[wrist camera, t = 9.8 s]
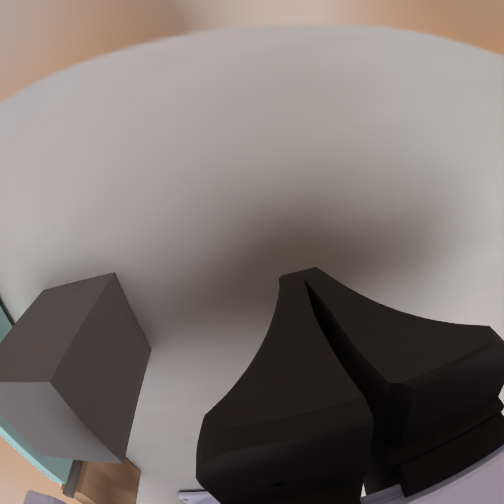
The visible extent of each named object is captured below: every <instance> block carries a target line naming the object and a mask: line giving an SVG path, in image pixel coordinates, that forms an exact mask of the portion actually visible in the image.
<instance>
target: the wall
mask: <svg viewBox="0 0 504 504" xmlns="http://www.w3.org/2000/svg"><path fill="white" fill-rule="evenodd" d="M140 473H141V471H140V470H139V469H138V468H137V467H135V466H134V465H133V464H132V463H131V462H130V461H129V460H128V459H127V458H126V457H125V459H124V464H119V463H103V462H92V461H82V460H74V459H73V462H72V465H71V469H70V472H69V476H68V479H67V483H66V484H62V487H61V489H62V490H63V494H64V495H66V496H68V497H70V498H75V499H76V500H78V501H79V502H81V503H82V504H136V500H137V493H138V486H139V479H140Z"/></svg>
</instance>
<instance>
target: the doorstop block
mask: <svg viewBox="0 0 504 504" xmlns="http://www.w3.org/2000/svg"><path fill="white" fill-rule="evenodd" d="M150 353H151V348H150V346H149V344H148V342H147V340H146V338H145V336H144V334H143V332H142V330H141V328H140V326H139V324H138V322H137V320H136V318H135V316H134V314H133V312H132V310H131V308H130V306H129V303H128V301H127V299H126V297H125V295H124V293H123V290H122V288H121V286H120V284H119V281H118V279H117V277H116V274H115V272H114V273H110V274H106V275H102V276H98V277H94V278H90V279H86V280H82V281H78V282H74V283H70V284H66V285H62V286H59V287H55V288H51V289H47V290H43V292H42V293H41V294H40V295H39V296H38V297H37V298H36V300H35V301H34V302H33V303H32V304H31V305H30V307H29V308H28V309H27V310H26V311H25V313H24V314H23V315H22V316H21V317H20V319H19V320H18V321H17V322H16V324H15V325H14V326H13V327H12V329H11V330H10V331H9V332H8V334H7V335H6V336H5V338H4V339H3V340H2V341H1V343H0V414H1V415H2V416H3V417H4V418H5V419H6V420H7V422H8V423H9V424H10V425H11V426H12V427H13V428H14V429H15V430H16V431H17V432H18V433H19V434H20V435H21V436H22V437H23V438H24V439H25V440H26V441H27V442H28V443H29V444H30V445H31V446H32V447H33V448H34V449H35V450H36V451H38V452H39V453H40V454H41V455H47V456H53V457H59V458H66V459H74V460H82V461H92V462H103V463H119V464H124V459H125V454H126V450H127V445H128V441H129V436H130V432H131V427H132V423H133V419H134V414H135V410H136V406H137V402H138V398H139V394H140V390H141V386H142V382H143V378H144V375H145V371H146V367H147V364H148V360H149V356H150Z"/></svg>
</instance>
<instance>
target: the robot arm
mask: <svg viewBox="0 0 504 504" xmlns="http://www.w3.org/2000/svg"><path fill="white" fill-rule="evenodd" d="M279 284H280V286H279V295H278V300H277V305H276V309H275V313H274V315H273V318H272V321H271V324H270V327H269V330H268V332H267V334H266V337H265V339H264V341H263V343H262V345H261V347H260V349H259V350H258V352H257V354H256V356H255V357H254V359H253V361H252V362H251V364H250V365H249V367H248V368H247V370H246V371H245V372H244V374H243V375H242V376H241V378H240V379H239V380H238V381H237V383H236V384H235V385H234V386H233V388H232V389H231V390H230V391H229V392H228V393H227V395H226V396H225V397H224V398H223V399H222V400H220V401H219V402H218V403H217V404H216V405H215V406H214V407H213V408H212V409H211V410H210V411H209V412H208V413H207V414H206V415H205V416H204V419H203V423H202V426H201V430H200V435H199V440H198V445H197V455H196V479H197V480H198V482H199V484H200V485H201V486H202V487H203V488H204V489H205V490H206V491H205V492H180V493H178V498H179V499H181V500H182V501H183V502H185V503H186V504H504V416H503V415H502V413H501V411H502V410H503V408H504V404H503V403H502V401H501V400H500V399H499V397H498V395H499V393H500V391H501V389H502V387H503V385H504V341H503V340H502V338H501V337H500V336H499V335H498V334H497V333H496V332H495V331H494V330H493V329H492V328H491V327H490V326H480V325H465V324H454V323H448V322H441V321H435V320H431V319H426V318H422V317H418V316H414V315H411V314H407V313H404V312H401V311H398V310H395V309H392V308H390V307H387V306H384V305H382V304H379V303H377V302H375V301H373V300H370V299H368V298H366V297H364V296H362V295H360V294H358V293H357V292H355V291H353V290H351V289H349V288H348V287H346V286H344V285H343V284H341V283H340V282H338V281H336V280H335V279H333V278H332V277H330V276H329V275H327V274H326V273H324V272H323V271H321V270H320V269H318V268H317V267H314V268H311V269H307V270H303V271H299V272H295V273H291V274H287V275H283V276H281V277H280V279H279ZM363 484H364V488H365V492H366V496H364V497H361V492H362V486H363ZM360 497H361V498H360ZM24 504H66V503H65V502H63V501H61V500H59V499H57V498H54V497H51V496H48V495H44V494H41V493H37V492H34V491H31V490H29V491H27V494H26V497H25V501H24Z"/></svg>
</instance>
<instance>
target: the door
mask: <svg viewBox="0 0 504 504" xmlns="http://www.w3.org/2000/svg"><path fill="white" fill-rule="evenodd" d="M11 329H12V325H11V323H10V322H9V320H8V318H7V317H6V315H5V313H4V311H3V309H2V308H1V306H0V343H1V341H2V340H3V339H4V338H5V336H6V335H7V334H8V332H9V331H10V330H11ZM0 435H1V436H2V437H3V438H4V439H5V440H6V441H7V442H8V443H9V444H10V445H11V446H12V447H13V448H14V449H16V450H17V451H18V452H19V453H20V454H21V455H22V456H23V457H25V459H27V460H28V461H29V462H30V463H31V464H33V465H34V466H35V467H36V468H37V469H38V470H40V471H41V472H42V473H43V474H45V475H46V476H47V477H48V478H50V479H51V480H52V481H54V482H57V483H62V484H66V483H67V479H68V476H69V472H70V469H71V465H72V462H73V459H66V458H59V457H53V456H47V455H41V454H40V453H39V452H38V451H36V450H35V449H34V448H33V447H32V446H31V445H30V444H29V443H28V442H27V441H26V440H25V439H24V438H23V437H22V436H21V435H20V434H19V433H18V432H17V431H16V430H15V429H14V428H13V427H12V426H11V425H10V424H9V423H8V422H7V420H6V419H5V418H4V417H3V416H2V415H1V414H0Z"/></svg>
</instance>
